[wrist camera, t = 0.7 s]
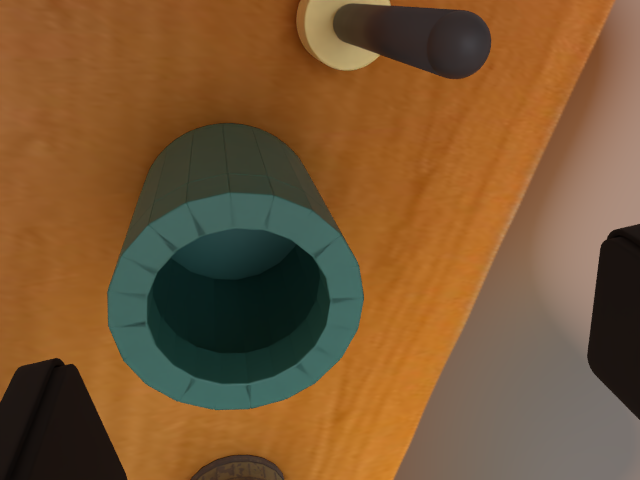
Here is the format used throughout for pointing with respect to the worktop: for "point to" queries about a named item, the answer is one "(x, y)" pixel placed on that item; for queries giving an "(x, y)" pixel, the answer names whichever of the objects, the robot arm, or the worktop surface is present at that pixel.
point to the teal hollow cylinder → (232, 274)
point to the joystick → (393, 36)
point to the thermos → (240, 469)
